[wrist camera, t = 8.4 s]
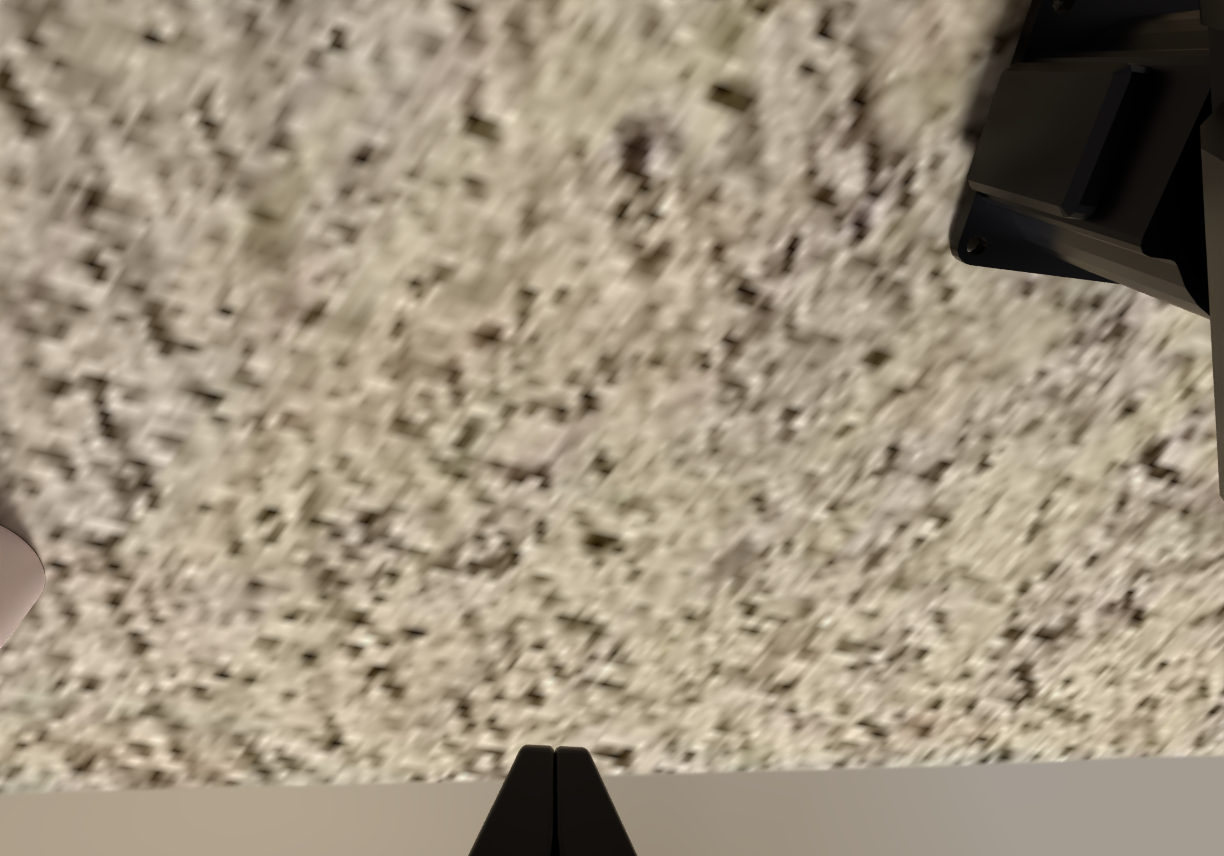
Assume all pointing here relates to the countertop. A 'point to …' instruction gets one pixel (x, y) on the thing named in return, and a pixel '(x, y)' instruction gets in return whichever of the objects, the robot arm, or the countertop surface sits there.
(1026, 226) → the robot arm
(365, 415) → the countertop surface
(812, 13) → the countertop surface
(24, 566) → the smoothie
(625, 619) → the countertop surface
